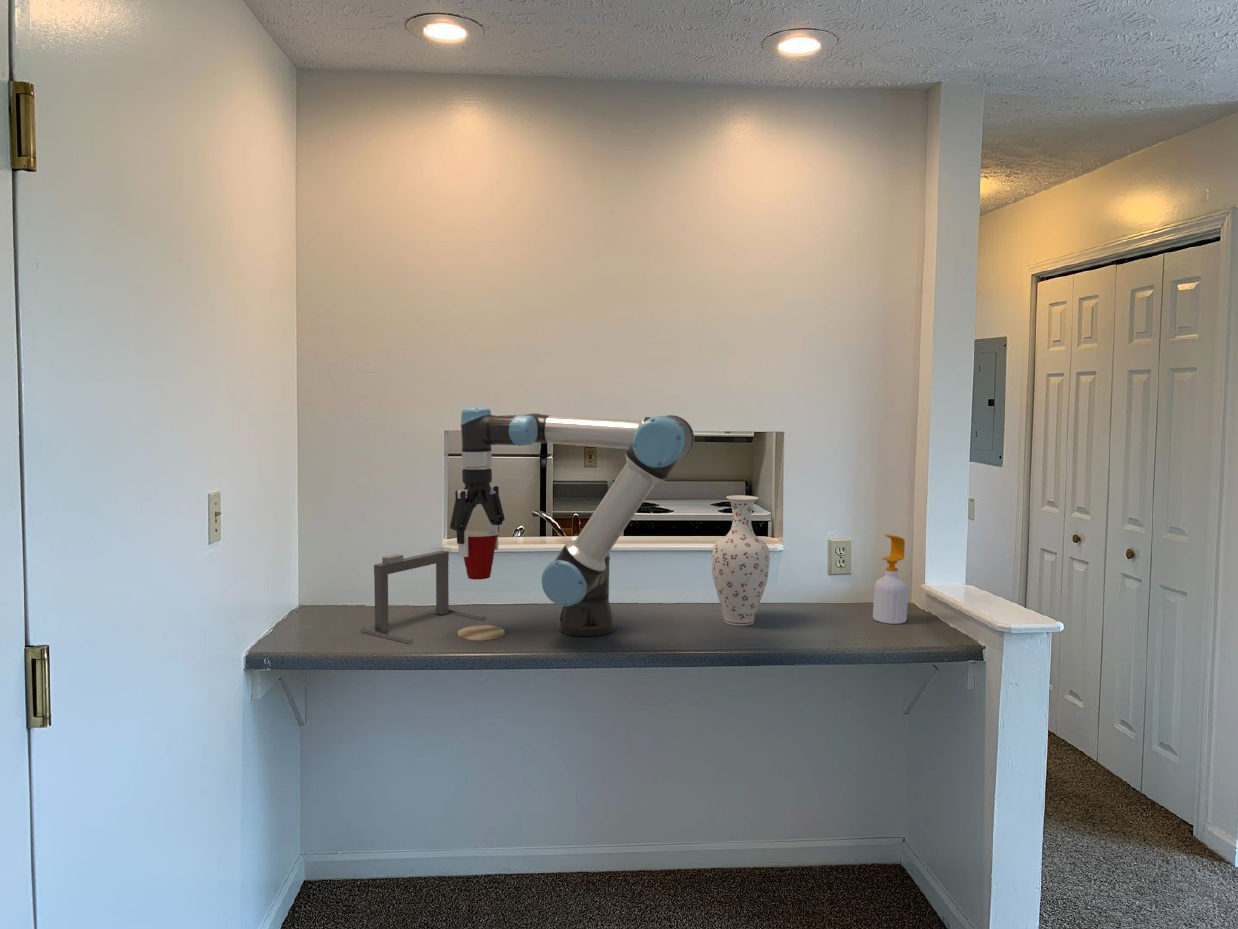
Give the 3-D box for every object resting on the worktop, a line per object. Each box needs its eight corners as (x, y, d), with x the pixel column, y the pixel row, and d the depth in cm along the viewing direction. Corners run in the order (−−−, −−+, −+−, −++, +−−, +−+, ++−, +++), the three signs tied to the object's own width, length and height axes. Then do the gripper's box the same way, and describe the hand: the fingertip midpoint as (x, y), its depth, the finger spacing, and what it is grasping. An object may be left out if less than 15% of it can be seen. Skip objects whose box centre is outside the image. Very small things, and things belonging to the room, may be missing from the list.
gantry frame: (448, 612, 243) (448, 545, 241) (381, 632, 222) (380, 559, 221) (442, 611, 244) (441, 544, 242) (374, 631, 224) (373, 558, 222)
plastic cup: (502, 572, 228) (502, 528, 227) (497, 581, 217) (496, 534, 216) (462, 573, 228) (461, 528, 227) (454, 582, 217) (453, 535, 216)
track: (485, 619, 238) (485, 615, 238) (409, 643, 214) (409, 640, 214) (438, 609, 247) (438, 606, 247) (361, 631, 224) (360, 628, 224)
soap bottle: (866, 619, 243) (870, 533, 241) (884, 614, 250) (887, 530, 247) (895, 626, 237) (899, 538, 235) (912, 620, 243) (916, 535, 241)
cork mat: (513, 632, 226) (514, 630, 225) (482, 643, 216) (482, 641, 215) (479, 625, 232) (479, 622, 232) (448, 635, 222) (448, 633, 222)
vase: (699, 617, 243) (702, 494, 240) (748, 611, 250) (751, 492, 247) (728, 632, 229) (732, 502, 226) (779, 626, 235) (783, 499, 232)
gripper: (496, 463, 232) (497, 544, 234) (433, 470, 213) (435, 558, 215) (517, 465, 228) (518, 547, 230) (455, 472, 209) (457, 561, 210)
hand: (478, 552), depth 222 cm, fingers closed on plastic cup, 11 cm apart
